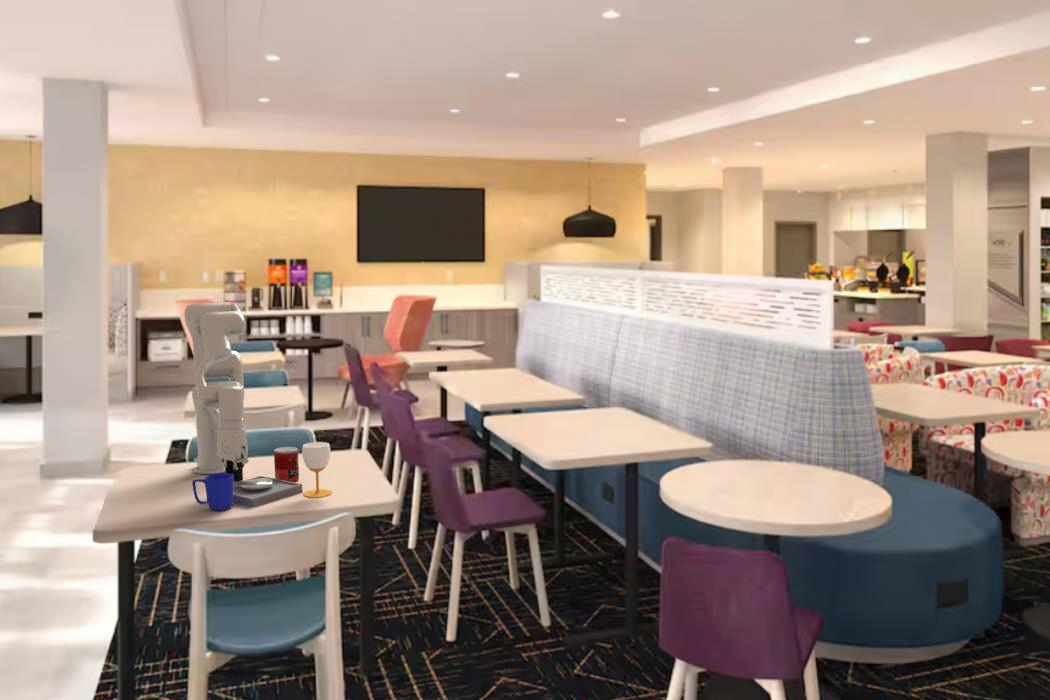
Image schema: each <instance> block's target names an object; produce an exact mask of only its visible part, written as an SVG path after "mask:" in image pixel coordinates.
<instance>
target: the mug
mask: <svg viewBox="0 0 1050 700" xmlns="http://www.w3.org/2000/svg"><path fill="white" fill-rule="evenodd" d="M233 481H234V475H233V474H229V473H225V472H222V473H216V474H208V475H206V476H205V478H200V479H199V478H198V479H193V480H192V489H193V495H194V499H195V501H196V503H198V504H200V505H205V504H206V505H208V508H209V509H210V510H211V511H214V512H215V511H216V512H221V511H227V510H228V509H231V508H232V507H233V504H234V503H233ZM198 482H199V483H203V484H204V487H205V494H206V500H205V501H201V500H200V498H199V496H198V493H197V487H196V485H197V484H196V483H198Z"/></svg>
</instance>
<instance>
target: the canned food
mask: <svg viewBox="0 0 1050 700" xmlns="http://www.w3.org/2000/svg"><path fill="white" fill-rule="evenodd" d="M273 459H274V460H273V462H274V479H279V480H284V481H289V482H294V483H298V481H299V478H300V470H299V469H300V468H299V449H298V447H295V446H281V447H277V448H274V449H273Z"/></svg>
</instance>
